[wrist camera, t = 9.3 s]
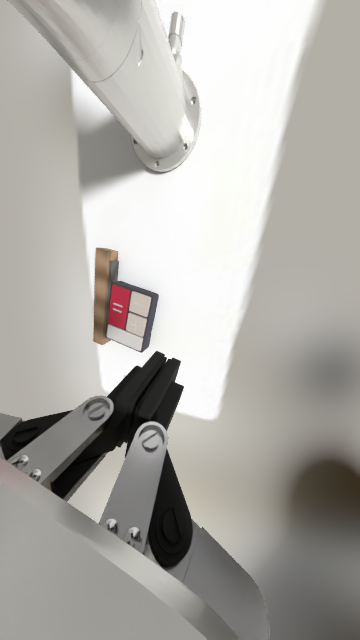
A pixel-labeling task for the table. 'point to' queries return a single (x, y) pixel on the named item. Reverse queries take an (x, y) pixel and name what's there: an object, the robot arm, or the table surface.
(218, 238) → the table surface
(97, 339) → the bar
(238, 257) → the table surface
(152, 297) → the calculator
